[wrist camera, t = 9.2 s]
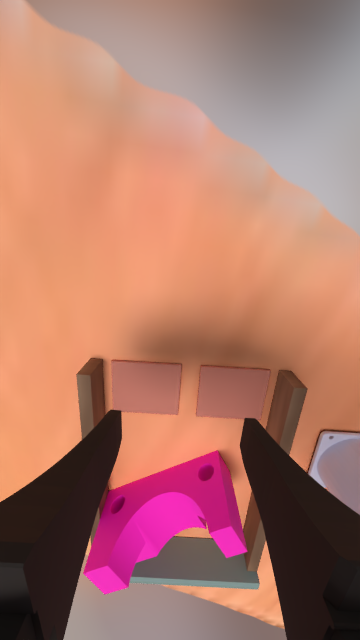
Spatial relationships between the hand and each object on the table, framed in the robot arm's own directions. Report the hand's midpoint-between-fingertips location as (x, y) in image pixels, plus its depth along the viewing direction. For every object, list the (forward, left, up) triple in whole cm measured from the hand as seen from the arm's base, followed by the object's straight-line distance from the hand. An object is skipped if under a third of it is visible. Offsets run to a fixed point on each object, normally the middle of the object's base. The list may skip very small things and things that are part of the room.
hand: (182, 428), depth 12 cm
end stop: (-1, +28, -9) cm, 30 cm away
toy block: (0, +18, -10) cm, 21 cm away
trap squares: (-1, +4, -9) cm, 10 cm away
